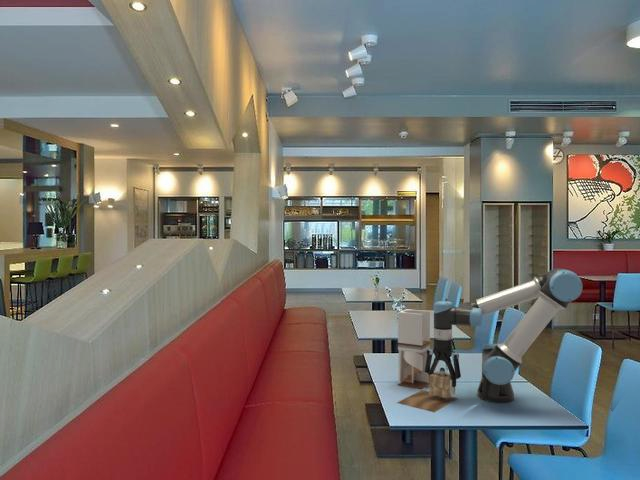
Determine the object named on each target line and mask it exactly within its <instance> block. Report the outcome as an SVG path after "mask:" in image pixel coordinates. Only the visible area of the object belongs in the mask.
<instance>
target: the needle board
mask: <svg viewBox="0 0 640 480" xmlns="http://www.w3.org/2000/svg"><path fill="white" fill-rule="evenodd" d="M439 372H440V376H443V377H445V373H446V368H445V367H440V368H439ZM458 399H459V398H458V397H455V396H450V397H448V398H444V397H439V396H435V395H431V394H429V390H423V389H420V390H419V391H417V392H415V393H413V394H411V395H409V396H407V397H405V398H403V399H401V400H399V401H398V402H396V404H399V405H404V406H408V407H410V408H411V407H412V408H414V409H415V408H416V409H419V410H424V411H428V412H432V413H436V412H437V411H439V410H441V409H443V408H445V407H446V406H448V405H449V404H451V403H453V402H454V401H456V400H458Z"/></svg>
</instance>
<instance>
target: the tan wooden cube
mask: <svg viewBox="0 0 640 480" xmlns="http://www.w3.org/2000/svg"><path fill="white" fill-rule="evenodd" d="M450 379H451V375H450V373H449V372H445V377H443V376H440V370H438V371H434V373H433V374H431V375H429V387H428V391H429V394H431V395H435V396H439V397H444V398H448V397H450V396H451V397H453V395H454V394H456V387H454V394H453V395H450Z"/></svg>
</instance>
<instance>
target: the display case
mask: <svg viewBox="0 0 640 480" xmlns="http://www.w3.org/2000/svg"><path fill="white" fill-rule="evenodd" d="M397 313H398V314H397V316H398V317H397V350H398V383H397V386H400V387H405V388H410V389H417V390H423V389H424V388H425V389H429V374H428V373H425V366H426V360H427V350H429V349H431V348H430V346H431V343H430V342H431V311H430V310H420V309H409V308H406V309H404V310H401V311H398V312H397Z"/></svg>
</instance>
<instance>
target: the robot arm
mask: <svg viewBox="0 0 640 480" xmlns="http://www.w3.org/2000/svg"><path fill="white" fill-rule="evenodd" d="M582 292H583V281H582V280H581V278H580V277H579V276H578V275H577V274H576V273H575V272H574V271H572V270H569V269H568V268H567V269H566V268H562V267H559V268H558V267H557V268H554V269H551V270H549V271H547V272H544V273H541V274H540V275H536V276H534V277H533V279H532V280H530V281H527V282H524V283H520V284H518V285H514V286H513V287H510V288H507V289H504V290H500V291H498V292H495V293H492V294H488V295H487V296H483V297H480V298H477V299H474V300H471V301H465V302H463V303H462V304H460V306H459V307H458V306H453V302H452V301H446V300H445V301H443V300H441V301H435V303H434V304H433V305H434V306H433V337H434V338H433V349H431V348H430V349H429V350H427V360H426V366H425V373H428V374H429V375H431V374H433V373H435V372H436V368H437V366H438V364H439V362H440V361H441V362H444V363H445V364H446V367H447V370H448V373H450V375H451V379H450V395H452V396H453V395H454V387H455V388H456V386H457V380H459V379H460V378H461V377H462V374H461V367H460V361H459V360H460V359H459V358H460V354H459V353H454V352H453V349H452V348H453V339H452V338H453V326H465V327H481V326H482V325H483V316H484V317H485V316H487V315H491V314H493V313H496V312H499V311H502V310H505V309H508V308H511V307H514V306H518V305H520V304H523V303H526V302H529V301H533V300H535V299H536V300H535V302H534V303H533V304H532V306H531V307H530V308H529V310H528V311H527V312H526V313H525V314H524V316H523V317H522V318H521V320H520V321H519V322H518V324H517V325H516V326H515V327H514V328H513V330H512V331H511V332H510V333H509V335H507V338H506V339H505V340H504V341H503V342H502V343H484V344H483V345H482V347H481V348H482V349H481V379H480V382H479V385H478V388H477V391H476V392H477V393H476V394H477V395H476V396H477V397H478V398H479V399H481V400H483V401H486V402H493V403H509V402H513V401H514V399H515V392H514V390H513V386H512V384H511V383H512V380H513V378H514V377H515V374H516V371H517V370H518V368H520V366H521V365H522V362H523V360H522V356H524V354H525V353H526V352H527V350H529V348H530V346H531V345H532V344H533V343H534V341H535V340H536V339H537V338H538V336H540V335H541V333H542V331H543V330H545V328H547V325H549V323H550V322H551V321H552V319H553V318H554V316H555V315H556V314H557V313H558V312H559V311H561V310H565V309H567V308H568V306H569V305H570V304H571V302H572V301H575V300H576V299H578V298H579V297H580V296H581V294H582ZM433 354H434V359H433ZM451 357H452V359H453V360H452V359H451ZM432 360H433V362H432ZM452 361H453V363H452Z"/></svg>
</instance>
